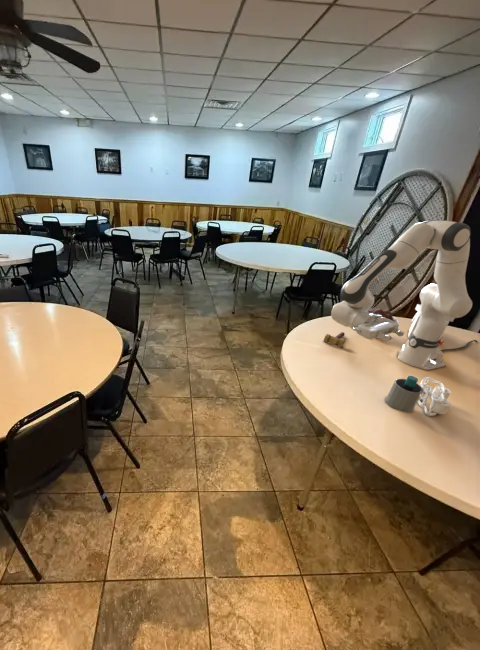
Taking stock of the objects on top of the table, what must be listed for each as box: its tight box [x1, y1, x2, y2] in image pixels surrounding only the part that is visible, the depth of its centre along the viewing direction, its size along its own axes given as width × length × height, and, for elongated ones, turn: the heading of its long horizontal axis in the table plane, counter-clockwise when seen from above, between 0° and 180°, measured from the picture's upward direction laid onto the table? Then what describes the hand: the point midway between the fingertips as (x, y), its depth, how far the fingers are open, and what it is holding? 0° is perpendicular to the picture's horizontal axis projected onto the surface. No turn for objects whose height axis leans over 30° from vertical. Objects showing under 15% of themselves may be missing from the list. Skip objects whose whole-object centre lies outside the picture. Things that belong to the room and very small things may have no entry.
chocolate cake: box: [367, 306, 400, 325], centre depth 193 cm, size 25×25×15 cm
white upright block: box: [407, 303, 456, 340], centre depth 193 cm, size 19×30×18 cm, turn 147°
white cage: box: [417, 376, 452, 417], centre depth 131 cm, size 20×11×7 cm, turn 144°
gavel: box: [323, 331, 346, 348], centre depth 181 cm, size 21×5×10 cm
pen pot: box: [385, 378, 424, 413], centre depth 129 cm, size 10×10×10 cm
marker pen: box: [402, 375, 419, 392], centre depth 127 cm, size 4×4×12 cm
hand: (396, 336), depth 126 cm, fingers open, 8 cm apart
